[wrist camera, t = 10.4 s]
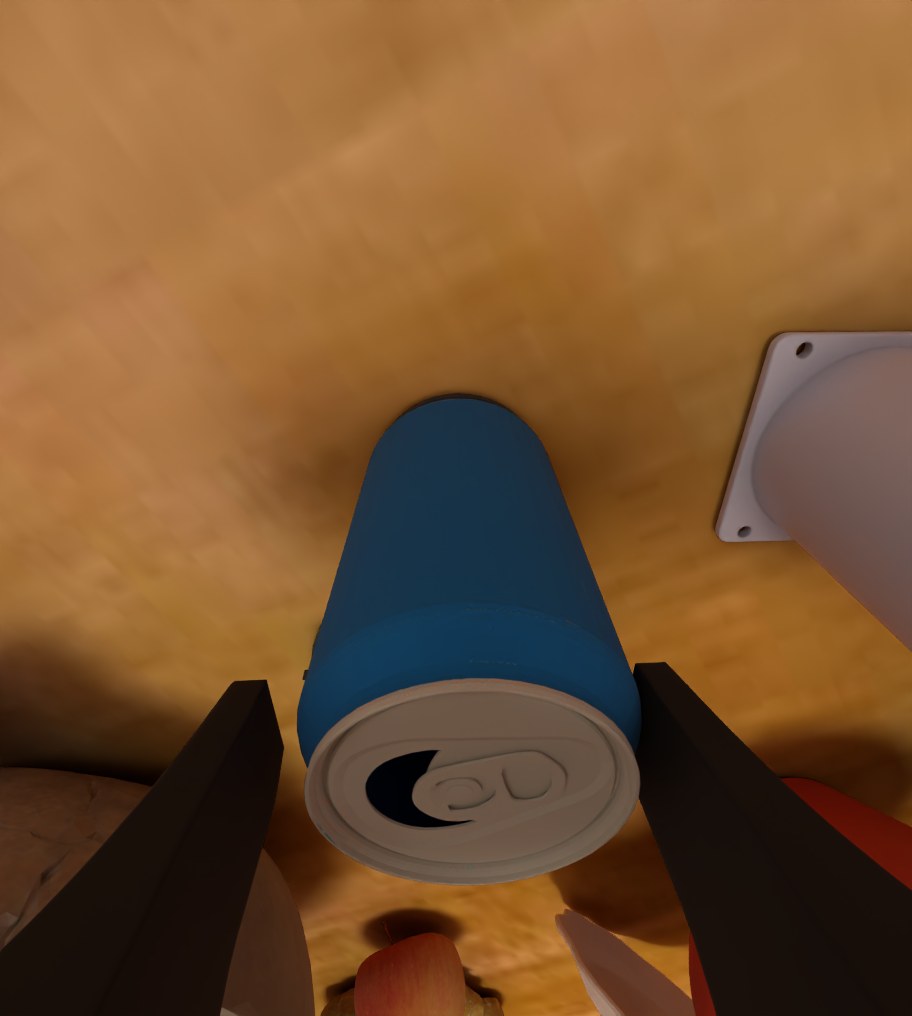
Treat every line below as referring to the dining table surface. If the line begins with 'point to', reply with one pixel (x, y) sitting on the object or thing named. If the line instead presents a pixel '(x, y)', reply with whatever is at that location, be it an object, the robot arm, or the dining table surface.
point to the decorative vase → (870, 830)
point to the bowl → (83, 830)
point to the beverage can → (467, 666)
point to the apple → (412, 979)
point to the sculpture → (478, 1011)
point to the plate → (619, 973)
